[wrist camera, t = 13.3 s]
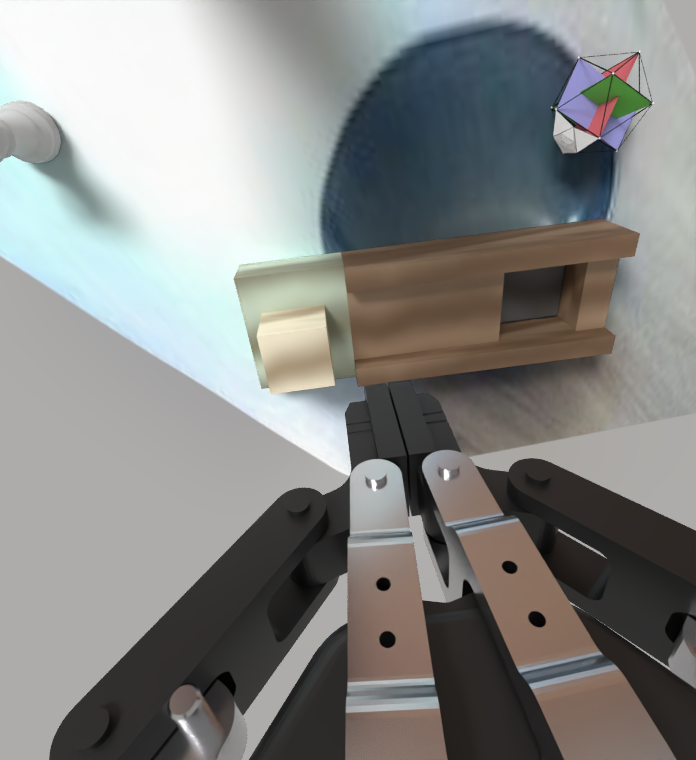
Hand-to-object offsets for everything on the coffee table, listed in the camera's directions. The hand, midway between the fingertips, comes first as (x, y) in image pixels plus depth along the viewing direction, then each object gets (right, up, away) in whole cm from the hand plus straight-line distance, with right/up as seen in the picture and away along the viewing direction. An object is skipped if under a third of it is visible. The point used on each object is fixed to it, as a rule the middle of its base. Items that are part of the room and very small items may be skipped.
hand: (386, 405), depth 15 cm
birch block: (-6, +5, +29) cm, 30 cm away
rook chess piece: (-27, +21, +22) cm, 41 cm away
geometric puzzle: (+19, +25, +24) cm, 39 cm away
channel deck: (+7, +9, +32) cm, 34 cm away
